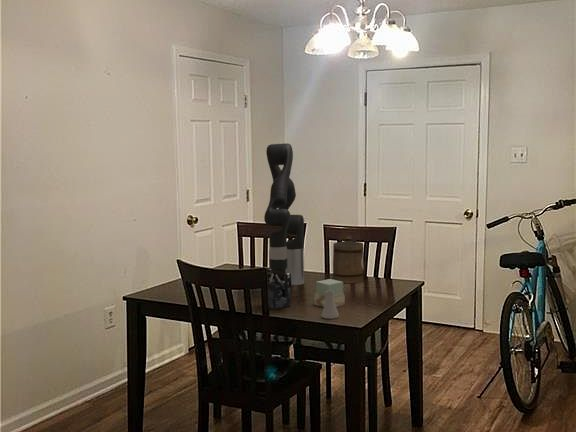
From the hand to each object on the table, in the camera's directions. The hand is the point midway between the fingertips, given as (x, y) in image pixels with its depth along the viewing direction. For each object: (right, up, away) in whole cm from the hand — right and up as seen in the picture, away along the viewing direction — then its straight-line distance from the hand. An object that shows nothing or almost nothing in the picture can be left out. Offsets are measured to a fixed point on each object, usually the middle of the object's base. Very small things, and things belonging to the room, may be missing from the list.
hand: (278, 295), depth 269 cm
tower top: (+21, +1, +2) cm, 21 cm away
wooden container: (+33, +1, +49) cm, 59 cm away
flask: (+20, -7, -15) cm, 26 cm away
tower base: (+21, -4, +3) cm, 22 cm away
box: (0, -5, +1) cm, 5 cm away
